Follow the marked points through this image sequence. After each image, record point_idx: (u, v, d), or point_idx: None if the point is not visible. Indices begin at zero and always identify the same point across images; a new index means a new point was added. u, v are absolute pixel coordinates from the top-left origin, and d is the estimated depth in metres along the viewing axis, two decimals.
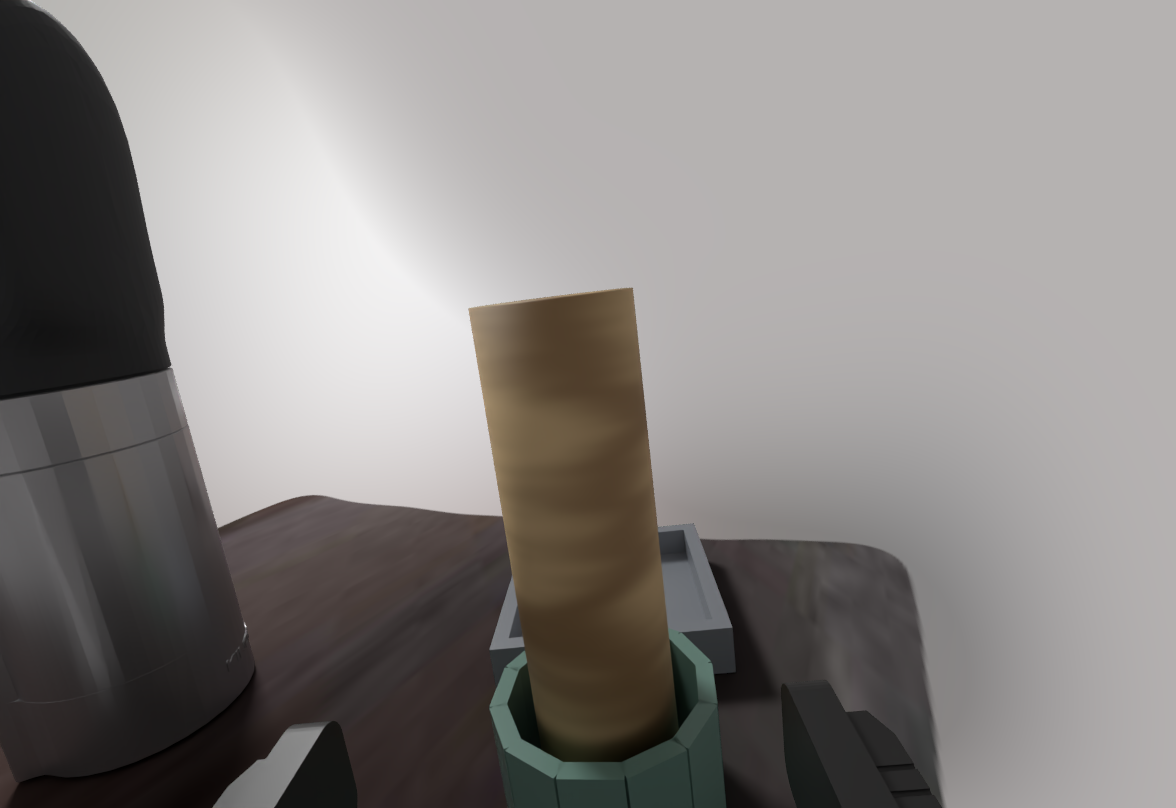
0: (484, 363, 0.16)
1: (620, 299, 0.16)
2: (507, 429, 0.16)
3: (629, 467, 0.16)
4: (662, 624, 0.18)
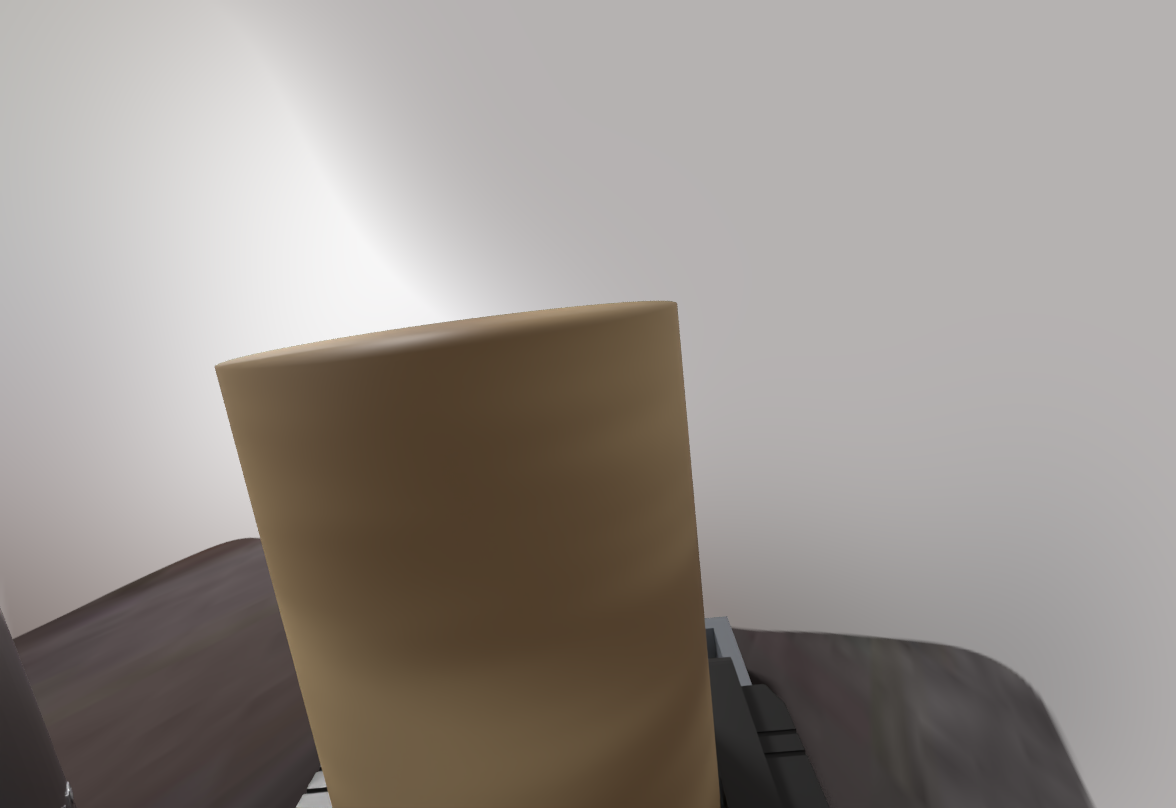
0: (256, 522, 0.06)
1: (649, 341, 0.05)
2: (318, 715, 0.06)
3: (671, 803, 0.06)
4: None
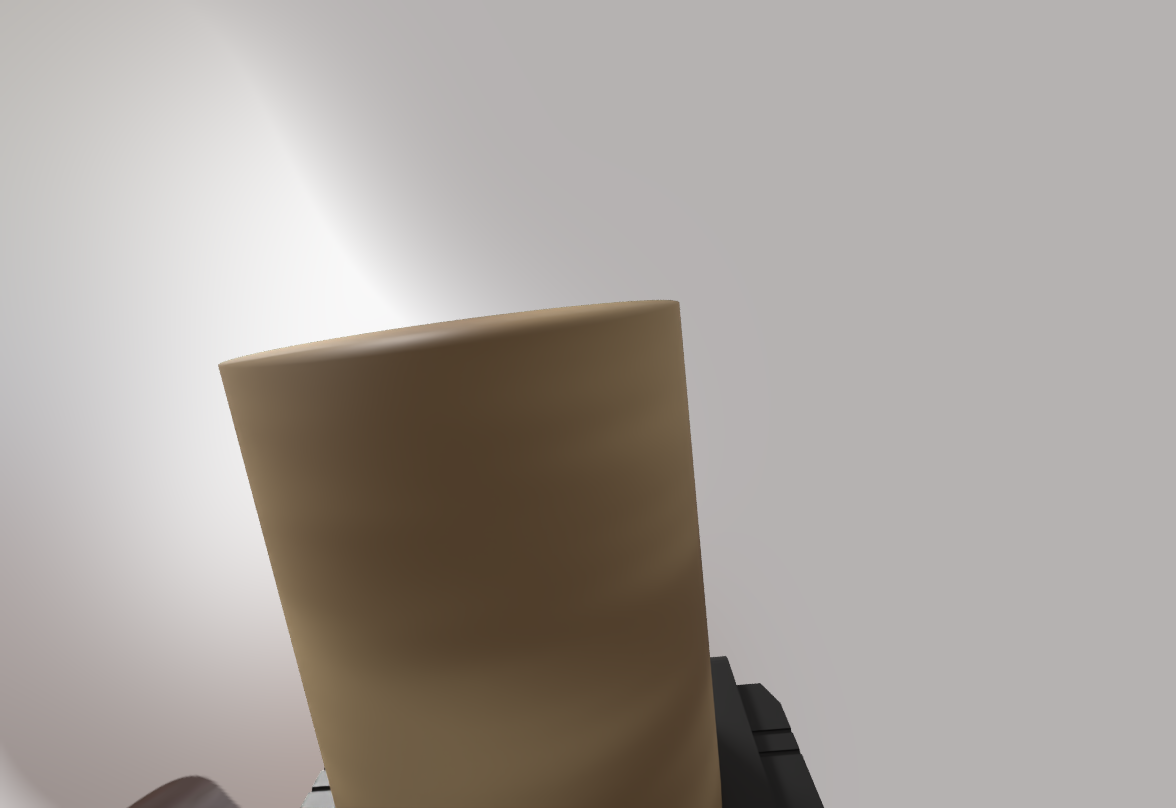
0: (259, 520, 0.06)
1: (653, 340, 0.05)
2: (322, 712, 0.06)
3: (673, 803, 0.06)
4: None
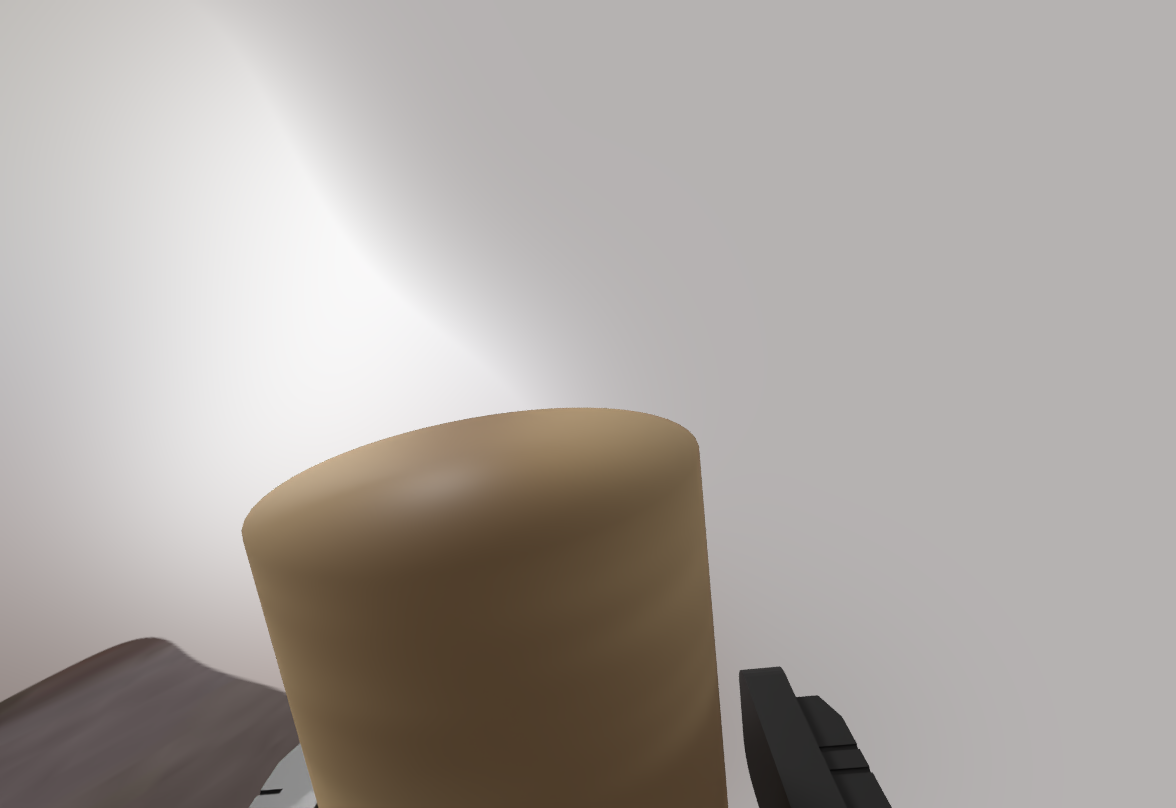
0: (283, 680, 0.06)
1: (677, 514, 0.05)
2: None
3: None
4: None
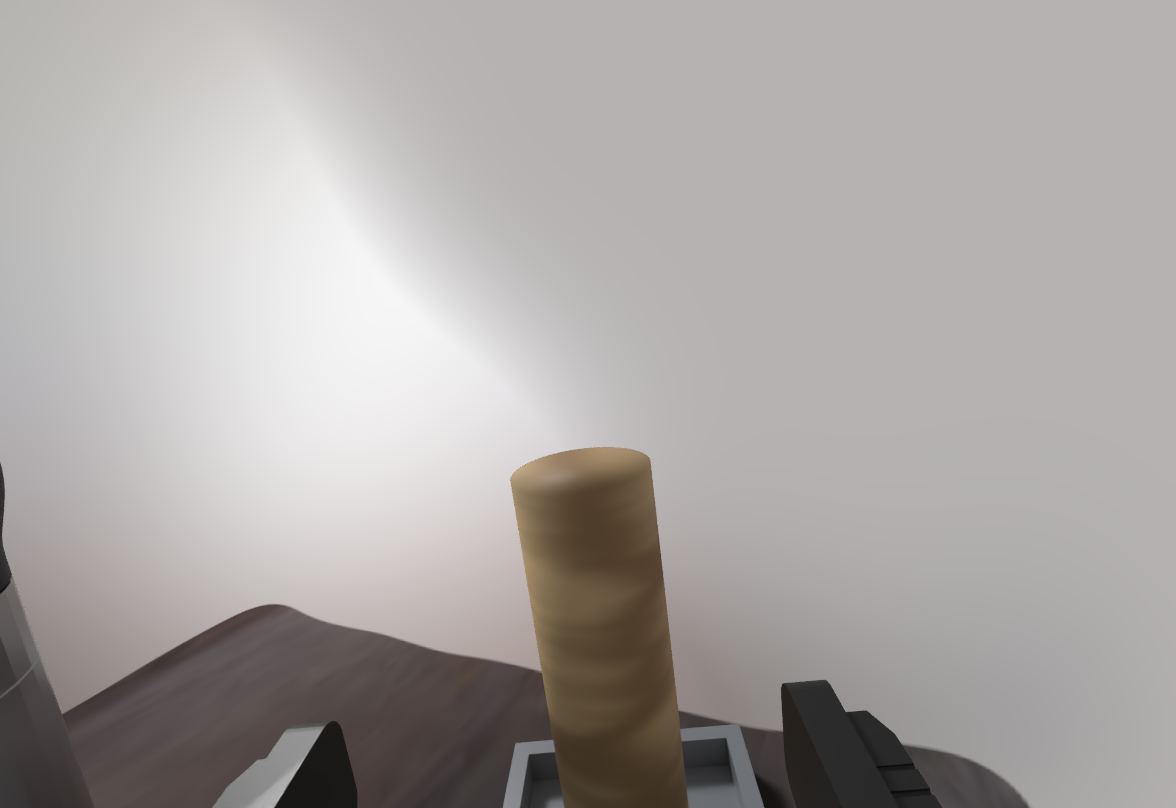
0: (525, 533, 0.19)
1: (641, 482, 0.19)
2: (545, 589, 0.19)
3: (648, 619, 0.19)
4: (676, 743, 0.21)
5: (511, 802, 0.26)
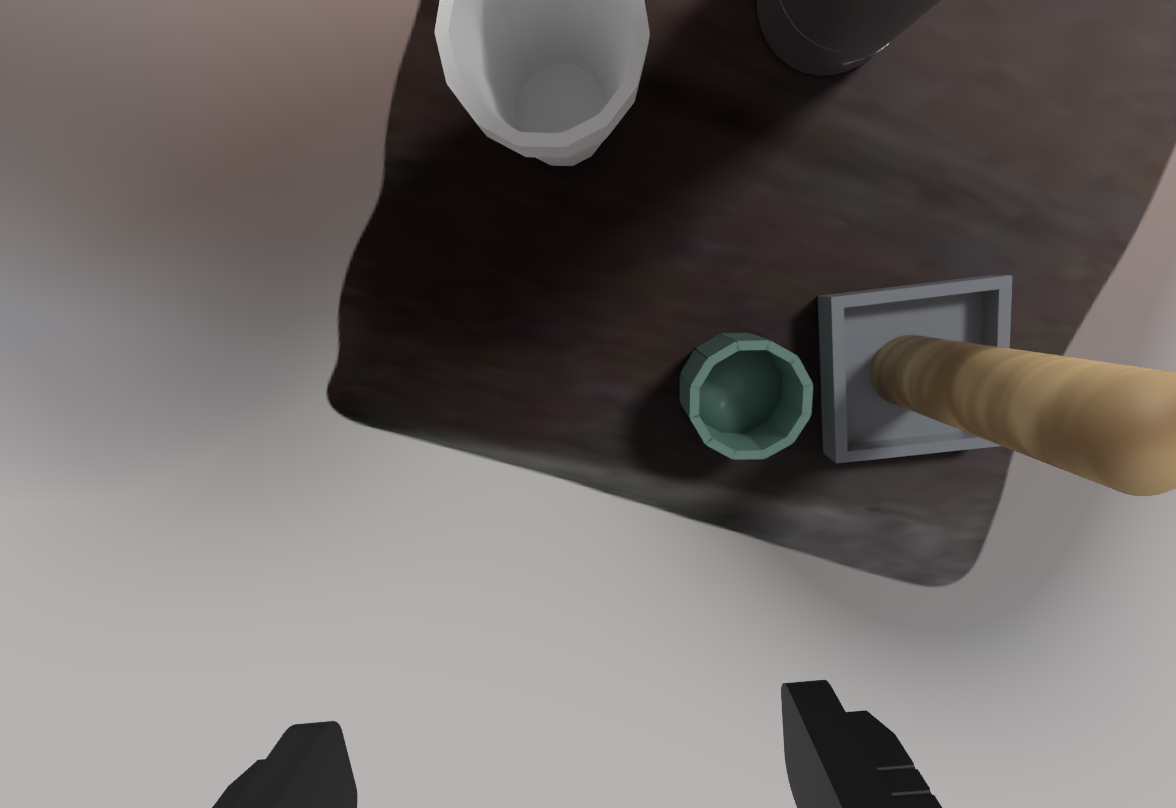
0: (1085, 382, 0.23)
1: (1108, 486, 0.23)
2: (1038, 386, 0.25)
3: (1013, 447, 0.27)
4: (955, 427, 0.33)
5: (956, 287, 0.37)
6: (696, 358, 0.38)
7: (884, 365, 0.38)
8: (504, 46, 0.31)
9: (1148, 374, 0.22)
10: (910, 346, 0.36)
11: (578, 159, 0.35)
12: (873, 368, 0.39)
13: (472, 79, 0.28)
